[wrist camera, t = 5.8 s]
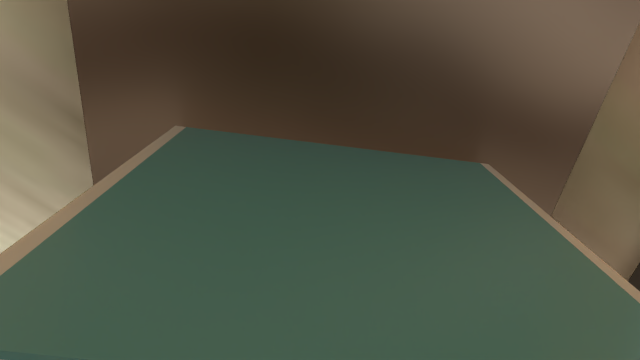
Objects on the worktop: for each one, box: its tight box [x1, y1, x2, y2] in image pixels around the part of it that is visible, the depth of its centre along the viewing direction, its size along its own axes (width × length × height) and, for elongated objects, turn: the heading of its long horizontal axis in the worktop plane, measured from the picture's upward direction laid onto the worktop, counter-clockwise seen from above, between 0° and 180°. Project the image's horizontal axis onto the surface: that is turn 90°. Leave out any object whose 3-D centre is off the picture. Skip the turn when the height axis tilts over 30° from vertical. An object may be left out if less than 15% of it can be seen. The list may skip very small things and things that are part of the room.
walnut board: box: [67, 0, 640, 216], centre depth 14 cm, size 16×15×2 cm
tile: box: [0, 126, 640, 360], centre depth 9 cm, size 10×9×1 cm
